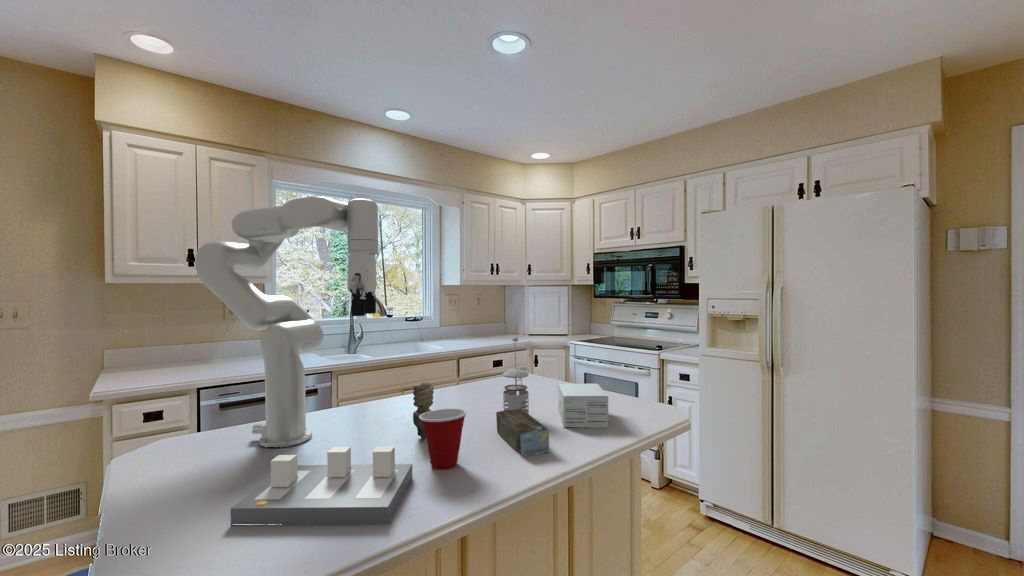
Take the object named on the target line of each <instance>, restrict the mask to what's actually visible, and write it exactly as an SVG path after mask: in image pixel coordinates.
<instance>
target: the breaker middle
mask: <svg viewBox="0 0 1024 576" xmlns="http://www.w3.org/2000/svg"><path fill="white" fill-rule="evenodd" d="M326 454H327V458H326V460H327V461H326V462H327V463H326V465H327V466H328V473H327V477H346V475H347V474H348V473H349V472H350V471H351V470H352V467H351V465H352V447H351V446H333V447H331V448H330V449H329V450H328V451H327V452H326Z"/></svg>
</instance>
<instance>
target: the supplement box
mask: <svg viewBox="0 0 1024 576" xmlns="http://www.w3.org/2000/svg"><path fill="white" fill-rule="evenodd" d="M557 393H558V394H557V395H558V396H557V397H558V398H557V399H558V401H557V402H558V403H557V404H558V408H557V409H558V414H559V417H560V420H562V421H561V423H562V427H563V428H564V427H565V428H566V427H581V429H584V427H586V428H585V429H588V428H589V427H590V428H591V429H592V428H594V429H596V428H597V429H598V428H599V429H600V428H601V429H604V428H605V429H608V428H609V395H608V393H606V392H605V391H604V389H603V387H601V385H599V383H558V384H557ZM582 427H583V428H582ZM587 427H588V428H587Z"/></svg>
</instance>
